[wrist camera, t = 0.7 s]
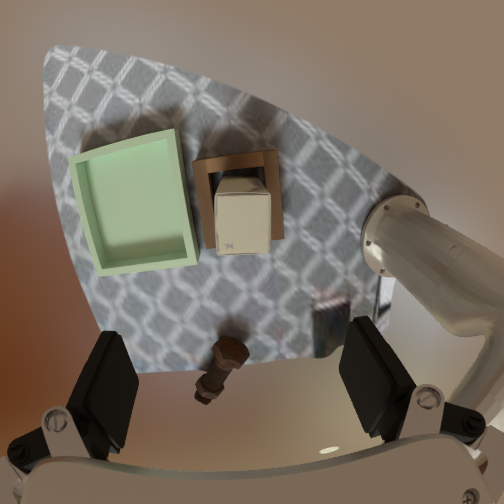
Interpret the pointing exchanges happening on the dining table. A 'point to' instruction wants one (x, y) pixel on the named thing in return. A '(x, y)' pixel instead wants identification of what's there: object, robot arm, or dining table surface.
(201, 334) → the dining table surface
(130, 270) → the tray
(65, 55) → the dining table surface
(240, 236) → the box
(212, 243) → the frame
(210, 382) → the bolt
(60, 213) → the dining table surface
